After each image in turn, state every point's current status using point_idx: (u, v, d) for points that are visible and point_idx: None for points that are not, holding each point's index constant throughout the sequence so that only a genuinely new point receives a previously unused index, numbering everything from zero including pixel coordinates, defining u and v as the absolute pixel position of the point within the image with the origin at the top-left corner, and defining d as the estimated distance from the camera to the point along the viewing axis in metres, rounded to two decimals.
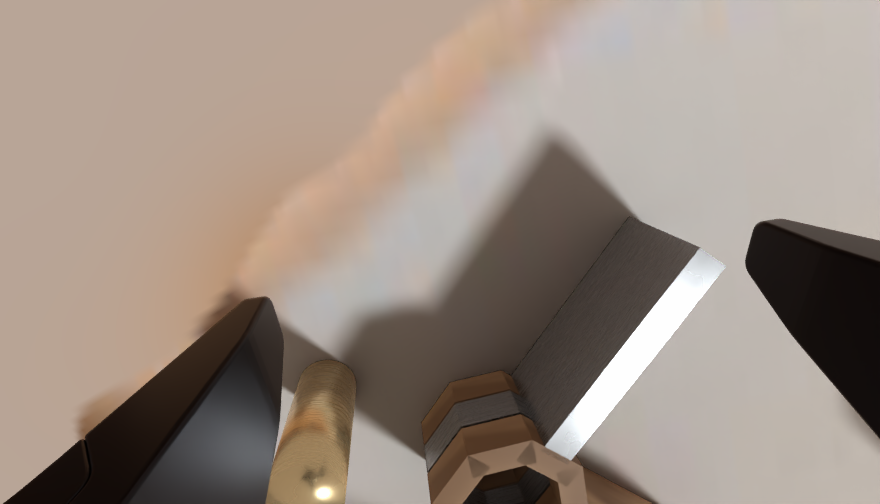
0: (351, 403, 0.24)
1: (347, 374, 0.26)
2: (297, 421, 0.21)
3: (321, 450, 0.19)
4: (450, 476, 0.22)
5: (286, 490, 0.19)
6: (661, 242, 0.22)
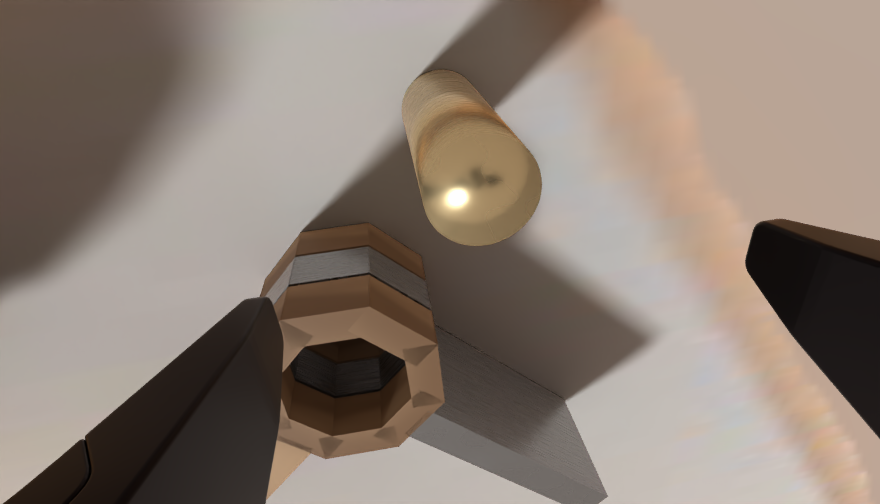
0: None
1: None
2: None
3: None
4: (407, 325, 0.17)
5: (502, 169, 0.12)
6: (582, 450, 0.25)
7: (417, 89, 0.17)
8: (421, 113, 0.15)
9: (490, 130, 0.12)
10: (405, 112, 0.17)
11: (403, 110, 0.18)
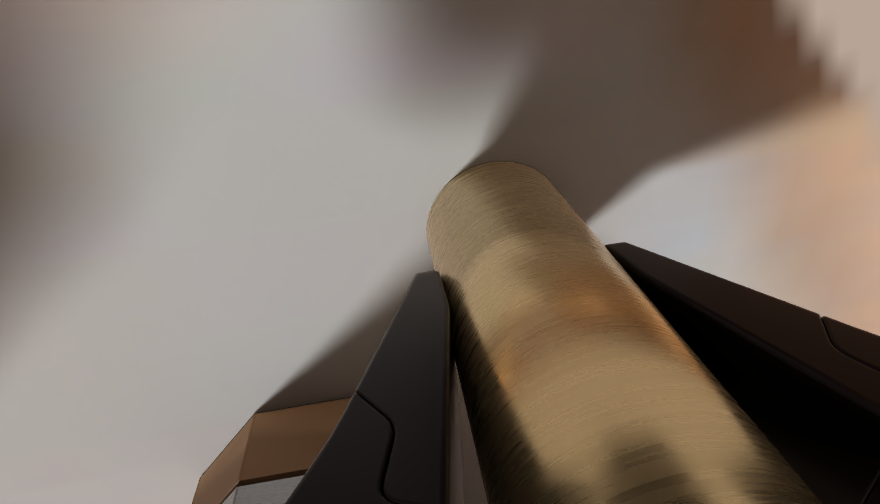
0: None
1: None
2: None
3: None
4: None
5: None
6: None
7: (461, 211, 0.09)
8: (486, 306, 0.07)
9: None
10: (438, 252, 0.09)
11: (431, 239, 0.10)
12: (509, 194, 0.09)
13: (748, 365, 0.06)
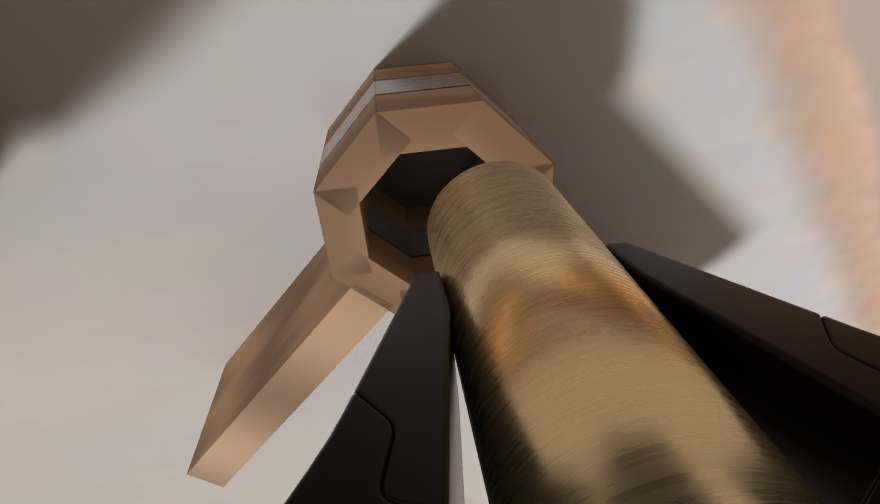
0: None
1: None
2: None
3: None
4: (521, 135, 0.14)
5: None
6: None
7: (462, 211, 0.09)
8: (487, 305, 0.07)
9: None
10: (438, 252, 0.09)
11: (432, 238, 0.10)
12: (510, 194, 0.09)
13: (748, 365, 0.06)
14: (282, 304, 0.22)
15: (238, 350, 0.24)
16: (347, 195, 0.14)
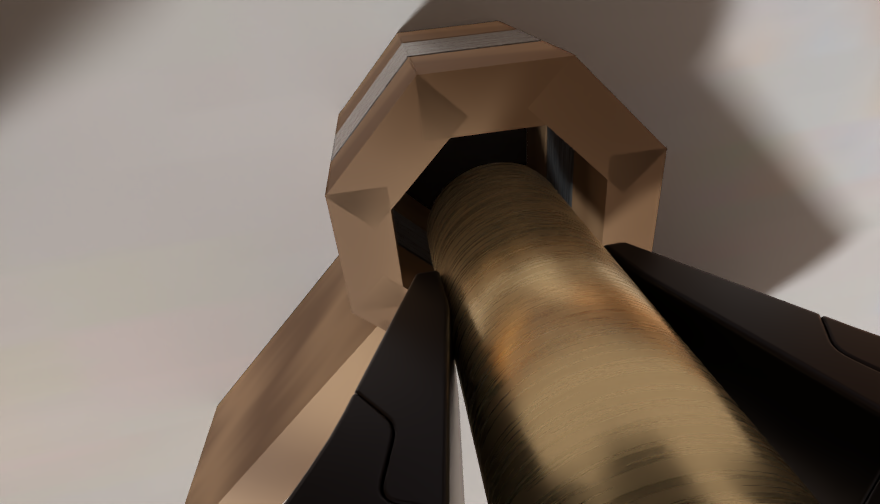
0: None
1: None
2: None
3: None
4: (624, 107, 0.10)
5: None
6: None
7: (461, 212, 0.09)
8: (486, 307, 0.07)
9: None
10: (438, 253, 0.09)
11: (431, 240, 0.10)
12: (509, 195, 0.09)
13: (748, 365, 0.06)
14: (284, 335, 0.17)
15: (232, 389, 0.19)
16: (374, 200, 0.10)
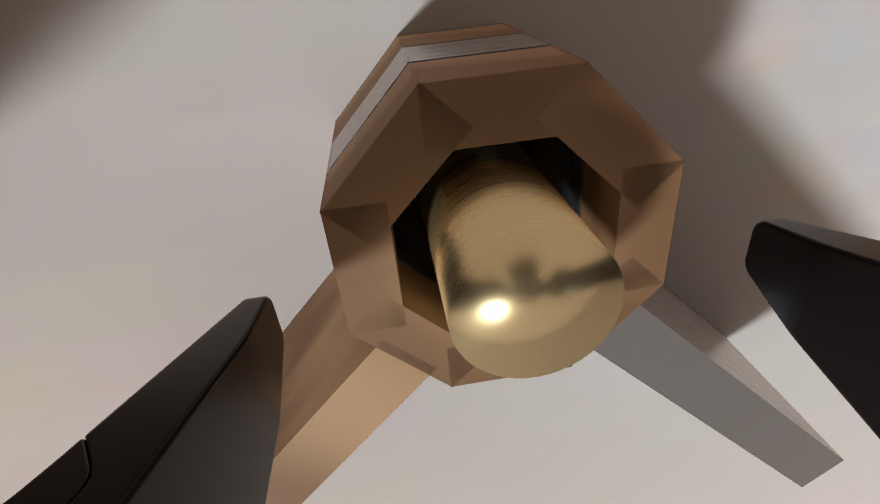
0: None
1: None
2: None
3: None
4: (639, 116, 0.09)
5: (568, 278, 0.08)
6: (781, 397, 0.17)
7: None
8: (439, 172, 0.11)
9: (552, 223, 0.08)
10: None
11: None
12: None
13: None
14: None
15: None
16: (372, 216, 0.09)
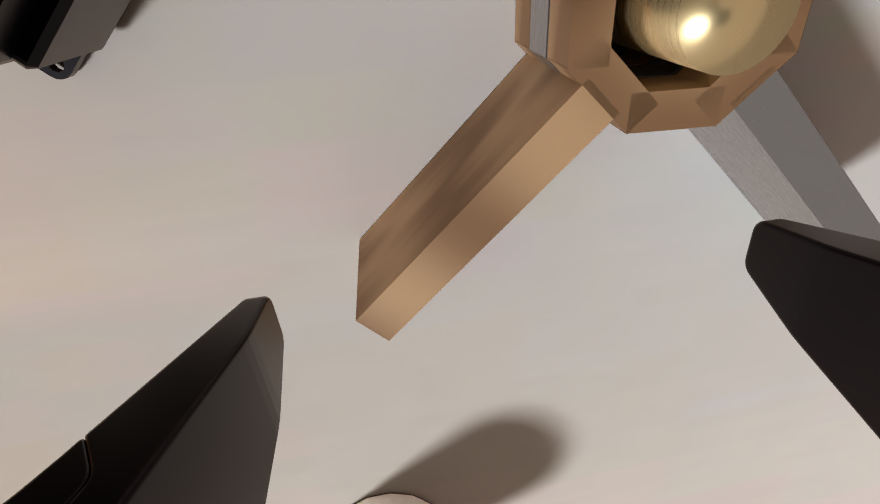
0: None
1: None
2: None
3: None
4: None
5: None
6: None
7: None
8: None
9: None
10: None
11: None
12: None
13: None
14: (439, 161, 0.20)
15: (377, 221, 0.22)
16: None
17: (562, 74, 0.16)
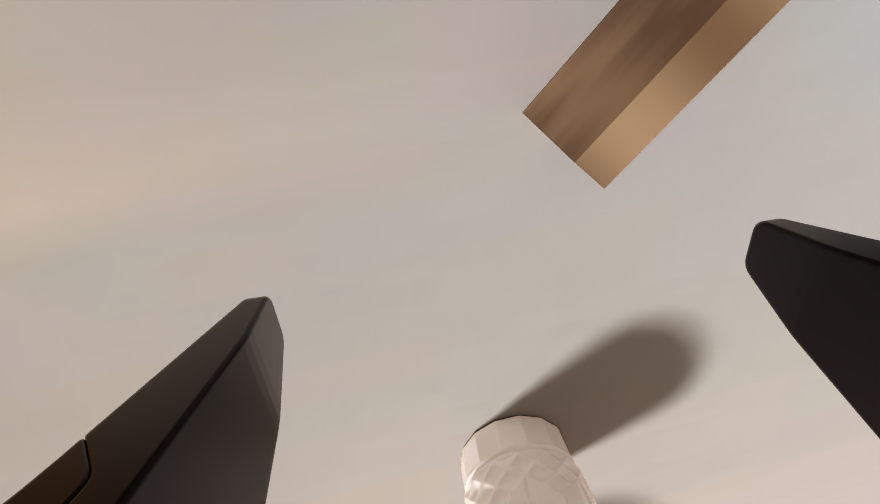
0: None
1: None
2: None
3: None
4: None
5: None
6: None
7: None
8: None
9: None
10: None
11: None
12: None
13: None
14: (628, 6, 0.18)
15: (544, 89, 0.20)
16: None
17: None
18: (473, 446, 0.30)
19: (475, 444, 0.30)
